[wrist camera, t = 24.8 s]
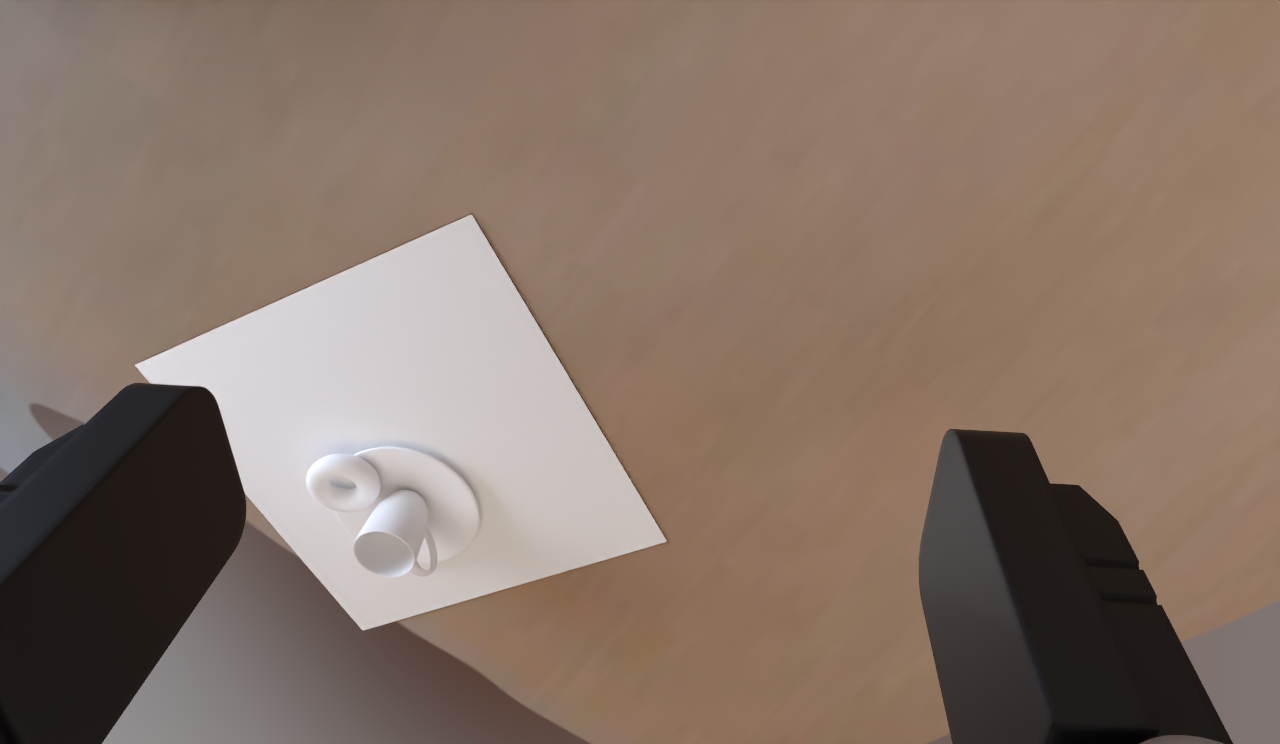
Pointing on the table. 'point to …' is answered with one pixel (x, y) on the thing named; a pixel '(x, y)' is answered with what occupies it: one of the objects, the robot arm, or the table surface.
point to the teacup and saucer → (414, 432)
